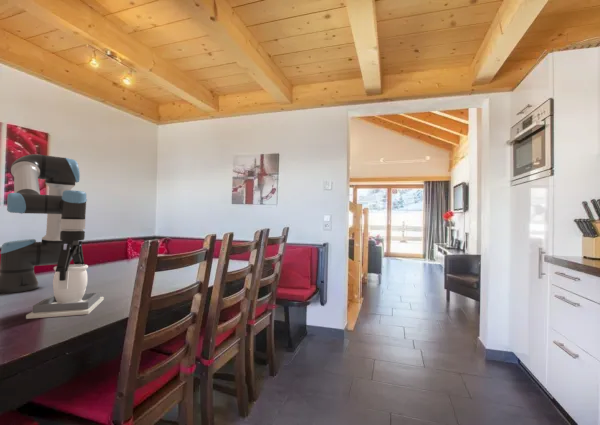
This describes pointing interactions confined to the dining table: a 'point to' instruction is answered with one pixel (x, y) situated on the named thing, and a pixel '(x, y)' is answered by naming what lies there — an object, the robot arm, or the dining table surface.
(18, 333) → the dining table surface
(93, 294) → the socket board
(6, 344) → the dining table surface
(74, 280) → the jar
